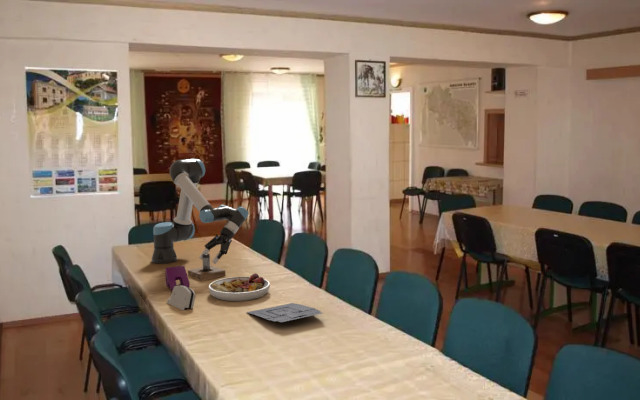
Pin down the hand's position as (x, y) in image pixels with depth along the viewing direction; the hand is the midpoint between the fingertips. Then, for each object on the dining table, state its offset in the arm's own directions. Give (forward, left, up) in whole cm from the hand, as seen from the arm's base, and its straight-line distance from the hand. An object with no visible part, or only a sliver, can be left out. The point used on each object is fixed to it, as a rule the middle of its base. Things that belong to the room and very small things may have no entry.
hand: (207, 260), depth 323 cm
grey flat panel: (+85, -12, -9) cm, 86 cm away
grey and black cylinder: (-1, 0, -8) cm, 8 cm away
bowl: (+41, -7, -9) cm, 43 cm away
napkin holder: (+38, -37, -9) cm, 54 cm away
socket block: (-1, 0, -8) cm, 8 cm away
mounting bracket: (+11, -24, -9) cm, 28 cm away
